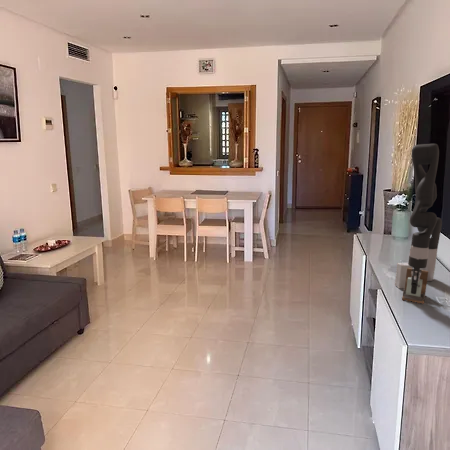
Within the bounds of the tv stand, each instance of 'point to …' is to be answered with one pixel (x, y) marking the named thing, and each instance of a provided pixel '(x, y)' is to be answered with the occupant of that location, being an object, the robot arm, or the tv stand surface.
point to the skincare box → (401, 274)
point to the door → (408, 289)
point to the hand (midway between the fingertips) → (413, 292)
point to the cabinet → (421, 299)
